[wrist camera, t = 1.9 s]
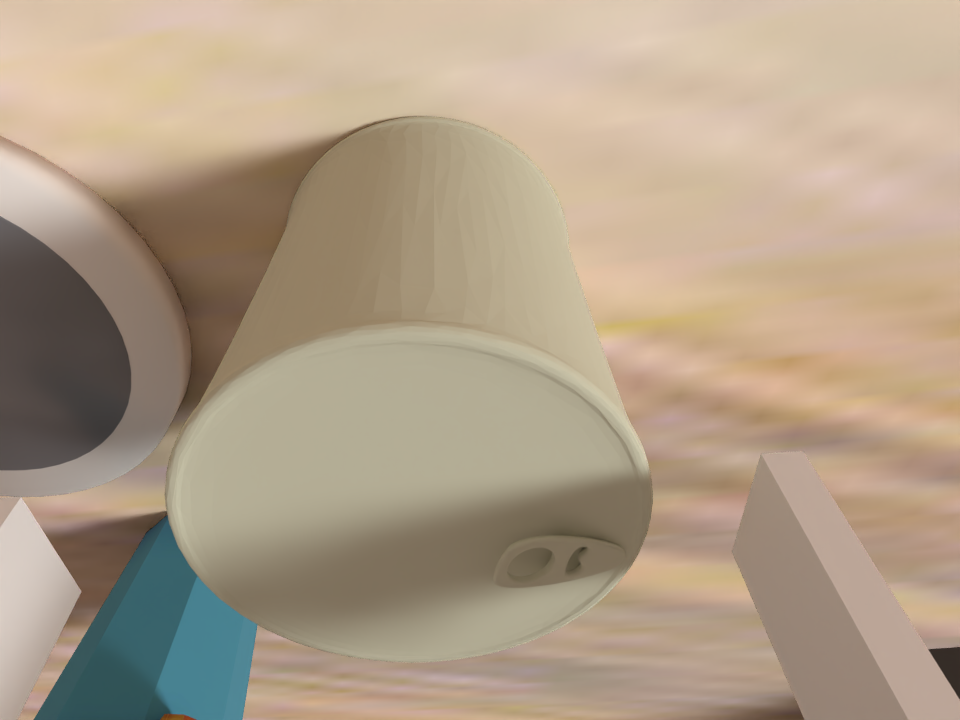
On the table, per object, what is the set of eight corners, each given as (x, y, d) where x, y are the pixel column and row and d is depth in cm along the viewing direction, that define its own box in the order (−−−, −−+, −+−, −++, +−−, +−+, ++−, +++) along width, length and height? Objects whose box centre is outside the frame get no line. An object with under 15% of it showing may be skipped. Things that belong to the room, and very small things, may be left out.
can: (525, 388, 25) (573, 702, 16) (277, 347, 24) (159, 665, 14) (607, 153, 20) (755, 400, 10) (298, 81, 19) (134, 291, 9)
